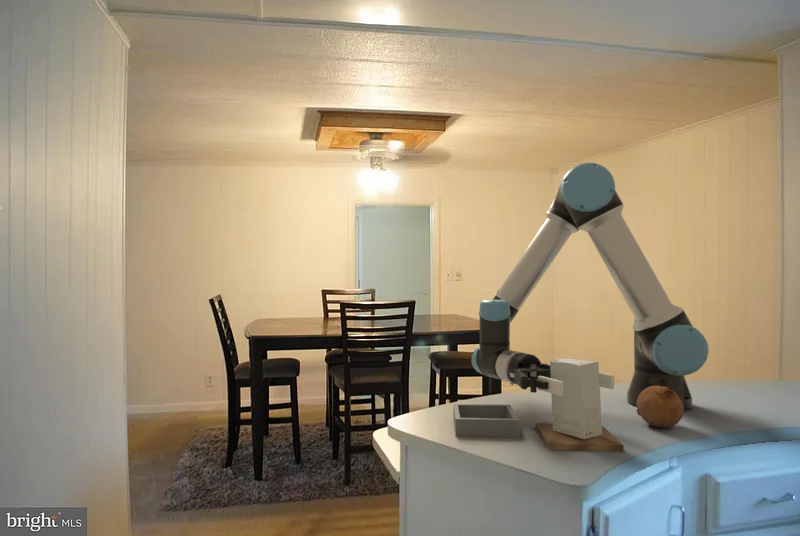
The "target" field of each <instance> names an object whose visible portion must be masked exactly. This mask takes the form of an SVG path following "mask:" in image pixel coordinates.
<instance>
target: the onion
mask: <svg viewBox="0 0 800 536" xmlns="http://www.w3.org/2000/svg"><path fill="white" fill-rule="evenodd" d="M636 405H637V406H636V408H637V409H636V413H637V415H638V416H640V418H642V419H643V420H644V421H645V423H647V424H648V425H649V426H650V427H654V428H660V429H668V428H669V429H670V428H672V427H674V426H676V425H677V424H678V423H680V421H681V420H682V418H683V416H684V413H685V410H684V407H683V403H682V401H681V399H680V397H679V396H678V395H677V394H676V393H675V392H674V391H672V390H670V389H669V388H668V387H662V386H651V387H648V388H646V389H644V390H643V391H642V392H641V393H640V394H639V396H638V398H637V404H636Z"/></svg>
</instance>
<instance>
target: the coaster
mask: <svg viewBox="0 0 800 536" xmlns="http://www.w3.org/2000/svg"><path fill="white" fill-rule="evenodd" d="M534 429H535V431H536V432H537V434H538V435H539V437H540V439H541V440H542V441H543V443H544V445H545V446H546V448H547V449H548V451H549V450H551V451H555V450H556V451H589V450H590V451H591V450H592V451H595V452H596V451H598V452H624V451H625V449H624V447H625V446H624V443H622V442H621V441H620V440H619V439H618V437H616V436H615V435H613V434H612V433H611V432H610V430H608V429H607V428H606V427H605V426H603V425H602V435H601V436H598V437H592V438H588V439H580V438H577V437H574V436H571V435H567V434H564V433H560V432H557V431H553V422H535V423H534Z"/></svg>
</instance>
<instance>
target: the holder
mask: <svg viewBox="0 0 800 536" xmlns="http://www.w3.org/2000/svg"><path fill="white" fill-rule="evenodd" d="M452 408H453V419H452V420H453V426H454V434H455V436H456V437H491V438H492V437H494V438H495V437H496V438H498V437H499V438H500V437H501V438H519V437H520V426H519V425H520V423H519V422H520V419H519V418H518V416H517V414H516V412H515V410H514V409H513V407H512V405H511V404H493V403H492V404H491V403H490V404H489V403H483V404H481V403H453V407H452Z"/></svg>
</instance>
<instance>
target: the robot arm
mask: <svg viewBox="0 0 800 536" xmlns="http://www.w3.org/2000/svg"><path fill="white" fill-rule="evenodd" d="M559 184H560V185H559V186H558V190H557V192H556V194H555V197H554V200H553V201H552V203H551V205H550V207H549V208H548V209H547V211H546V213H545V214H546V219H545V220H544V222H543V224H542V226H541V227H540V228H539V230H538V231H537V233H536V234H535V236H534V237H533V238H532V241H531V242H530V243H529V245H528V246H527V247H526V249H525V251H524V253H523V254H522V255H521V257H520V258H519V260H518V261H517V263H516V264H515V266H514V267H513V268H512V270H511V271H510V273H509V274H508V276H507V277H506V279H505V281H504V282H503V283H502V285H500V288H499V289H498V291H497V292H496V294H495V295H494V297H493V298H492V299H482V300H481V301H480V302H479V311H478V315H479V345H478V346H477V347H475V349H474V350H473V353H472V355H471V365H472V367H473V368H474V370H475V372H477V373H479V374H481V375H483V376H485V377H488V378H494V379H497V380H501V381H504V382H509V385H510V386H513V385H514V384H515V385H517V386H518V387H519V388H520V389H521V390H528V388H529V389H530V393H531V394H532V393H533V394H534V393H537V390H539V391H542V392H546V393H549V394H551V393H552V394H555V395H559V396H564V391H563V381H559V380H555V379H551V373H550V364H547V363H542V362H541V360H540V359H539V358H538V357H537V356H536V355H535V354H530V353H526V352H521V351H516V350H511V349H510V348H511V347H510V346H511V344H510V343H511V341H510V339H511V323H512V321H513V320H514V319H515V317H516V315H518V312H519V311H520V309H521V308H522V306H523V305H524V304H525V302H526V301H527V299H528V298H529V296H530V294H531V293H532V292H533V290H534V289H535V288H536V286H537V285H538V283H539V281H540V280H541V279H542V278H543V276H544V275H545V274H546V272H547V270H548V269H549V268H550V266H551V265H552V263H553V261H554V260H555V258H557V256H558V254H559V253H560V252H561V250H562V248H563V247H564V245H565V244H566V243H567V241H568V240H569V238H570V236H572V235H573V234H574V233H578V232H579V230H581V231H584V232H586V233H587V234H588V236H589V238H590V240H591V241H592V243H593V245H594V246H595V248H596V250H597V252H598V254H599V256H600V258H601V260H602V261H603V263H604V264H605V267H606V268H607V270H608V272H609V273H610V275H611V278H612V279H613V281H614V282H615V284H616V286H617V288H618V290H619V291H620V293H621V294H622V297H623V298H624V301H625V302H626V304H627V306H628V307H629V309H630V311H631V313H632V315H633V316H634V322H633V328H632V330H633V349H634V350H633V351H634V352H633V355H634V356H633V359H634V363H633V364H634V369H633V371H634V372H633V376H632V378H631V381H630V384H629V387H628V390H627V394H626V396H627V397H626V398H627V403H629V404H630V405H632V406H636V407H637V405H636V404H637V398H638V396H639V394H640V393H641V392H642V391H643V390H644V389H646V388H648V387H651V386H662V387H668V388H669V389H670V390H672V391H674V392H675V393H676V394H677V395H678V396H679V397H680V399H681V401H682V403H683V407H684V411H688V410H691V409H693V398H692V395H691V394H692V393H691V391H690V389H689V386H688V383H687V380H686V377H685V376H689V375H692V374H695V373H696V372H697V371H699V370H700V369H701V368H703V366H704V365H705V364H706V362H707V360H708V357H709V345H708V340H707V339H706V337H705V335H704V334H703V333H701V331H700V330H698V329H697V328H696V327H694V326H693V324H692V322H691V321H690V319H689V316H688V315H687V313H686V312H685V310H684V308H683V307H680V306H678V305H675V304H673V303H672V301H671V300H670V298H669V296H668V295H667V292H666V290H665V289H664V288H663V285H662V284H661V282H660V280H659V279H658V277H657V275H656V274H655V272H654V270H653V268H652V266H651V265H650V263H649V261H648V260H647V257H646V256H645V253H644V252H643V251H642V249H641V247H640V245H639V244H638V241H637V240H636V239H635V237H634V235H633V232H632V231H631V229H630V228H629V226H628V224H627V222H626V221H625V219H624V217H623V215H622V211H623V209H624V207H625V206H624V203H623V201H622V199H621V198H620V196H619V194H618V193H617V191H616V185H615V184H616V183H615V179H614V176H613V174H612V173H611V171H609V170H608V169H607V168H606V167H605V166H603V165H602V164H600V163H599V164H598V163H596V162H584V163H579V164H577V165H575V166H573V167H572V168H570V169H569V170H568V171H567V172H566V173H565V174H564V175H563V177H562V179H561V181H560V183H559ZM599 383H600V388H606V389H609V390H615V375H612V374H608V373H603V372H599Z"/></svg>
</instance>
